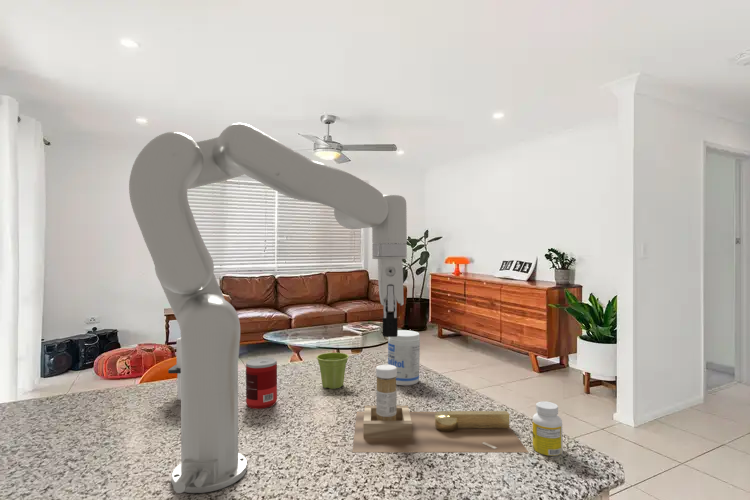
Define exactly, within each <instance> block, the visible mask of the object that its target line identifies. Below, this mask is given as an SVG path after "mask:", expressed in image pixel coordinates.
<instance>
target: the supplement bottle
mask: <svg viewBox="0 0 750 500" xmlns="http://www.w3.org/2000/svg"><path fill="white" fill-rule="evenodd" d="M535 411H536V413H534V414H533V416H532V449H533V451H534V452H535V453H536V454H539V455H541V456H546V457H550V458H551V457H552V458H554V457H555V458H556V457H561V456H562V455H563V452H564V451H563V450H564V449H563V444H564V443H563V419H562V418H561V417H560V416H559V405H558V404H557V403H554V402H551V401H544V400H542V401H538V402H536V403H535Z"/></svg>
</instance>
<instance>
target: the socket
mask: <svg viewBox="0 0 750 500" xmlns="http://www.w3.org/2000/svg"><path fill="white" fill-rule="evenodd" d="M363 412H364V423H363V438H412V422H411V417H410V412H411V411H410V409H409V405H397V407H396V421H377V413H376V405H364V411H363Z"/></svg>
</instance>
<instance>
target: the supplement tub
mask: <svg viewBox="0 0 750 500" xmlns="http://www.w3.org/2000/svg"><path fill="white" fill-rule="evenodd" d="M387 338H388V341H387V365H393V366H396V368H397V376H396V386H413V385H416V384H417V383H418V382H419V381H420V355H421V351H420V350H421V348H420V347H421V345H420V344H421V343H420V342H421V339H420V332H418V331H414V330H410V329H409V330H407V329H398V335H397V337H387Z"/></svg>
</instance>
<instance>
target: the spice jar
mask: <svg viewBox="0 0 750 500" xmlns="http://www.w3.org/2000/svg"><path fill="white" fill-rule="evenodd" d="M375 376H376V389H375V390H376V391H375V393H376V396H375V397H376V399H375V401H376V402H375V403H376V413H377V421H396V407H397V399H398V398H397V395H398V394H397V385H396V376H397V368H396V366H393V365H388V364H380V365H377V366H376V367H375Z"/></svg>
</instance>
